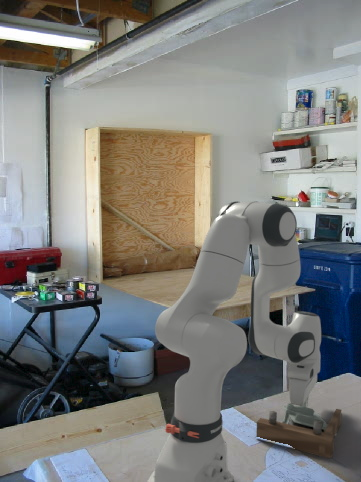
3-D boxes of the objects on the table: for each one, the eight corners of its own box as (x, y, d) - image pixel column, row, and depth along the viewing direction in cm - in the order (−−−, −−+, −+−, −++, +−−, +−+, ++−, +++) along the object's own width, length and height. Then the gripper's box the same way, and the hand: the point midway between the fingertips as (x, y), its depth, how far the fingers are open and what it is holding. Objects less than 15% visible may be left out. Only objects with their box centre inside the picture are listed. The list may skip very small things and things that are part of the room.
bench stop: (330, 458, 128) (332, 428, 127) (256, 439, 138) (257, 411, 137) (346, 423, 148) (347, 397, 147) (279, 409, 157) (280, 384, 156)
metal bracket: (296, 418, 138) (279, 396, 153) (289, 437, 139) (273, 413, 154) (342, 430, 140) (321, 407, 155) (336, 449, 141) (315, 425, 156)
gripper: (302, 352, 162) (301, 393, 163) (285, 373, 144) (284, 419, 145) (322, 355, 159) (321, 397, 160) (307, 377, 141) (306, 424, 142)
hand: (303, 407), depth 153 cm, fingers closed
